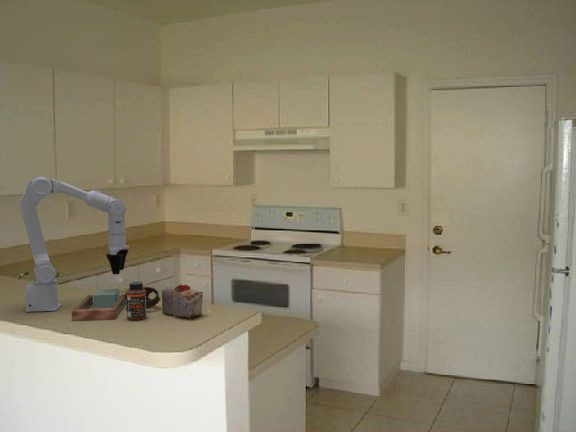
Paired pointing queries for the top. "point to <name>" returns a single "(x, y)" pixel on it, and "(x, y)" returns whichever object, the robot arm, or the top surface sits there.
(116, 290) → the block
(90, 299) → the guide channel
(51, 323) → the top surface
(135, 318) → the supplement bottle
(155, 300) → the pottery mug
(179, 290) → the food item
